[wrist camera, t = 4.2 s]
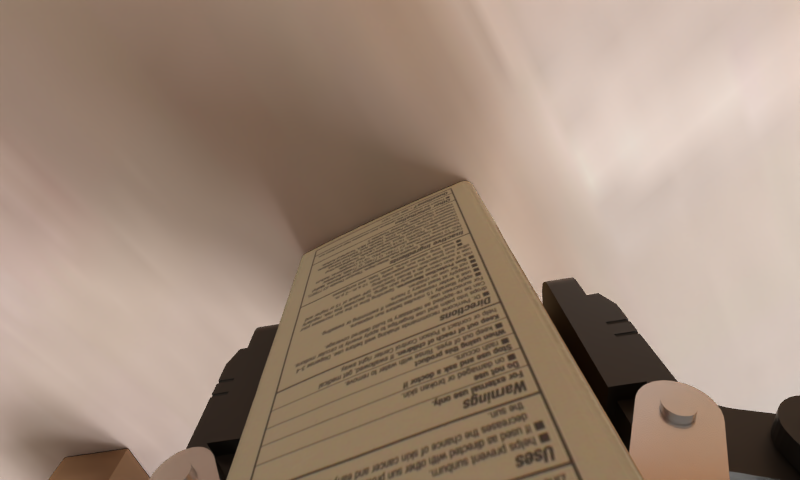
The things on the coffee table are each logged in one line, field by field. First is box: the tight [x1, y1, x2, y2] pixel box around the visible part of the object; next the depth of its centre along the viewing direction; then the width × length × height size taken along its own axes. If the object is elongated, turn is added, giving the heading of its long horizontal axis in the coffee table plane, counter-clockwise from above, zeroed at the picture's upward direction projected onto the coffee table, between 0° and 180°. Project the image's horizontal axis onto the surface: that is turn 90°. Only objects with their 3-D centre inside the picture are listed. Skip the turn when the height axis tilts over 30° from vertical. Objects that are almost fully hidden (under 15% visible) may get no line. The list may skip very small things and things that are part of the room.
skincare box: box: [226, 181, 644, 480], centre depth 9 cm, size 6×4×12 cm
